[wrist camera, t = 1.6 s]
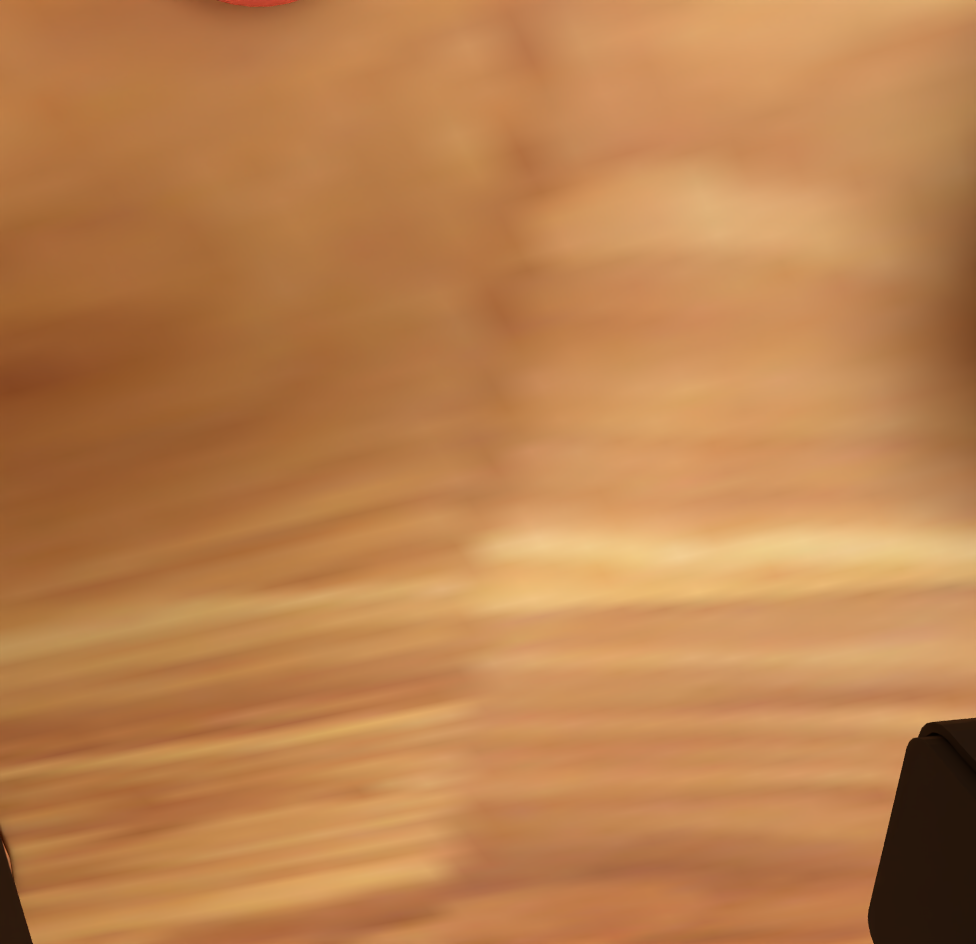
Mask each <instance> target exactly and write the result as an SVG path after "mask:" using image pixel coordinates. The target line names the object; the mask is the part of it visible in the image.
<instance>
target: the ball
mask: <svg viewBox="0 0 976 944" xmlns="http://www.w3.org/2000/svg"><path fill="white" fill-rule="evenodd" d="M218 1H222V2H226V3H230V4H235V5H243V6H251V7H254V6H275V5H281V4H287V3H291V2H294V1H297V0H218Z"/></svg>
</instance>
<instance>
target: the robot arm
mask: <svg viewBox="0 0 976 944" xmlns="http://www.w3.org/2000/svg"><path fill="white" fill-rule="evenodd" d="M868 924H869V929H870V934H871V937H872V940H873V943H874V944H976V718H969V719H959V720H949V721H939V722H931V723H927V724H926V725H925V726H923V727H922V729H921V731H920V734H919V736H918V738H913V739H912V740H911V741H910V742H909V744H908V746H907V749H906V753H905V757H904V762H903V766H902V770H901V774H900V779H899V783H898V787H897V791H896V796H895V800H894V804H893V808H892V813H891V817H890V821H889V825H888V830H887V834H886V838H885V842H884V847H883V851H882V855H881V859H880V864H879V868H878V872H877V876H876V881H875V885H874V889H873V893H872V898H871V902H870V906H869V911H868ZM0 944H33V943H32V940H31V936H30V933H29V929H28V926H27V923H26V919H25V916H24V913H23V909H22V906H21V903H20V899H19V896H18V893H17V889H16V886H15V883H14V879H13V876H12V870H11V864H10V858H9V856H8V853H7V851H6V849H5V847H4V844H3V842H2V839H1V837H0Z"/></svg>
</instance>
